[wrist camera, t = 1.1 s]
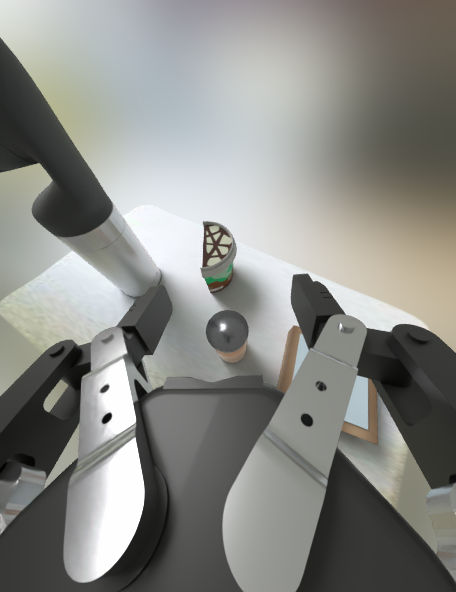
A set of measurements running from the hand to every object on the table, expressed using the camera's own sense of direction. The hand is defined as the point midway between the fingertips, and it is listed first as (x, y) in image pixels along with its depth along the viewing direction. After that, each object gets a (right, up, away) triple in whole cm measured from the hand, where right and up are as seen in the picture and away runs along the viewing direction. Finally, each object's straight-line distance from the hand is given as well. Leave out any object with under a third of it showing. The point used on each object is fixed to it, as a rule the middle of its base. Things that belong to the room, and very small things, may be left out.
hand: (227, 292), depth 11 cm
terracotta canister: (+1, -10, +21) cm, 23 cm away
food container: (-1, +5, +29) cm, 29 cm away
